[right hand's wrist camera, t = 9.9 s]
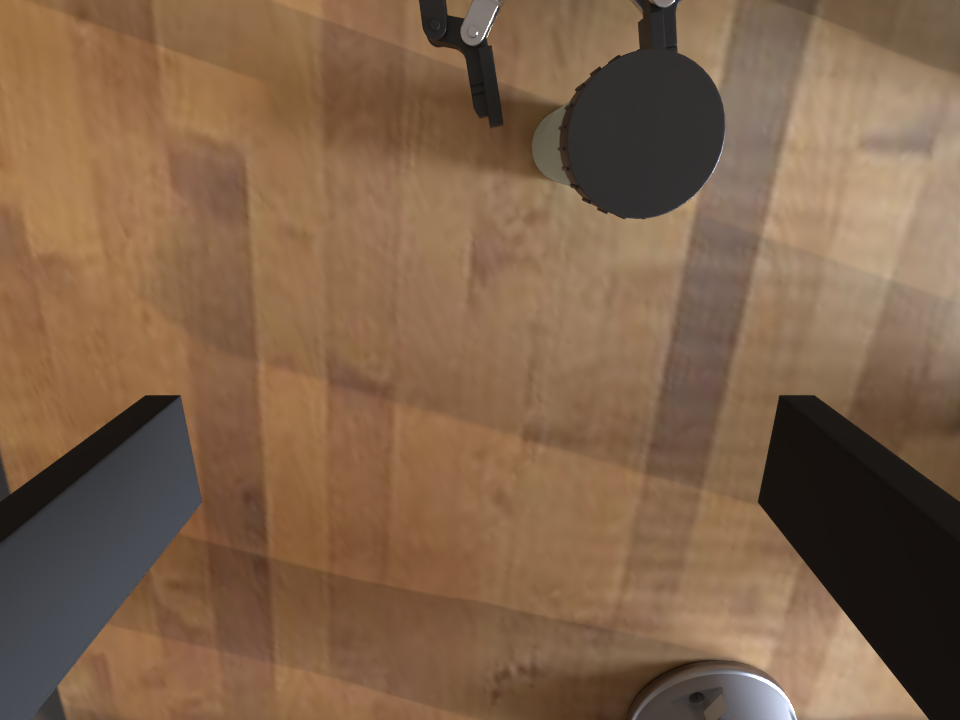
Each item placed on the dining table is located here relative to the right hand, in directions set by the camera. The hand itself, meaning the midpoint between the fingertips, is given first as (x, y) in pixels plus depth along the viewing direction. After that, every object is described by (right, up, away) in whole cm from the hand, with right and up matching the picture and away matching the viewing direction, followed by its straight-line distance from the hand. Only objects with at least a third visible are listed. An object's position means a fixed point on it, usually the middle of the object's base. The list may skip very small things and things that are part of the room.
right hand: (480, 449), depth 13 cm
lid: (+6, +10, +7) cm, 13 cm away
